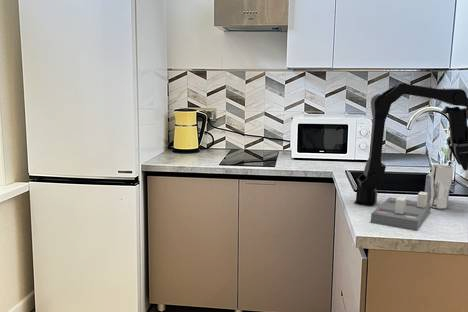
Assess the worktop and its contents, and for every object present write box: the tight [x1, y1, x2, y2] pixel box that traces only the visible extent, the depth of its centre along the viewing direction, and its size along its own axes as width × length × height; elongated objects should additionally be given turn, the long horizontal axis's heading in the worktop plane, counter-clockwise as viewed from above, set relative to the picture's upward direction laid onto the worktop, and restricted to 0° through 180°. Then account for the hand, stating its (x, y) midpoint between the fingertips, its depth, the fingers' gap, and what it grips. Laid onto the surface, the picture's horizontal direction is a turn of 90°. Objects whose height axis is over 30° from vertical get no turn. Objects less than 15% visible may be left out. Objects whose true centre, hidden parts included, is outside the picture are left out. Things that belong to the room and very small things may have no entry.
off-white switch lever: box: [395, 196, 407, 214], centre depth 147 cm, size 2×4×4 cm, turn 148°
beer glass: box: [430, 163, 453, 210], centre depth 165 cm, size 7×7×15 cm
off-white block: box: [416, 191, 428, 208], centre depth 155 cm, size 2×4×4 cm, turn 148°
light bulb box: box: [424, 172, 450, 203], centre depth 173 cm, size 11×7×11 cm, turn 144°
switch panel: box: [370, 197, 432, 231], centre depth 153 cm, size 14×24×3 cm, turn 148°
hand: (462, 167), depth 164 cm, fingers open, 9 cm apart
